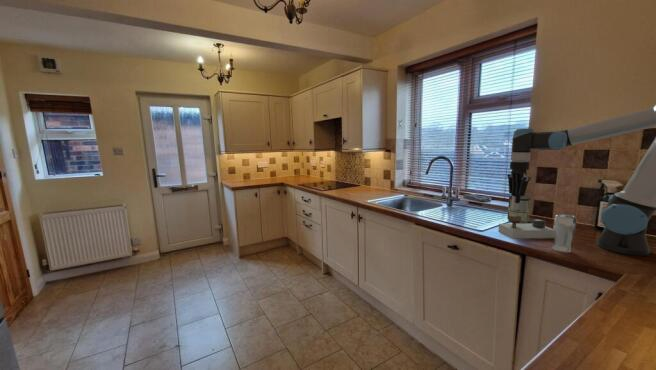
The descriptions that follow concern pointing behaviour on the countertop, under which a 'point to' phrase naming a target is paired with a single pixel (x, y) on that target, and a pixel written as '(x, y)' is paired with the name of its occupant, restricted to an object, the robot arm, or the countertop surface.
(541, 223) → the knob black
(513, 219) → the knob walnut
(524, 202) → the coffee can
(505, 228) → the knob mount
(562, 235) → the beer glass
